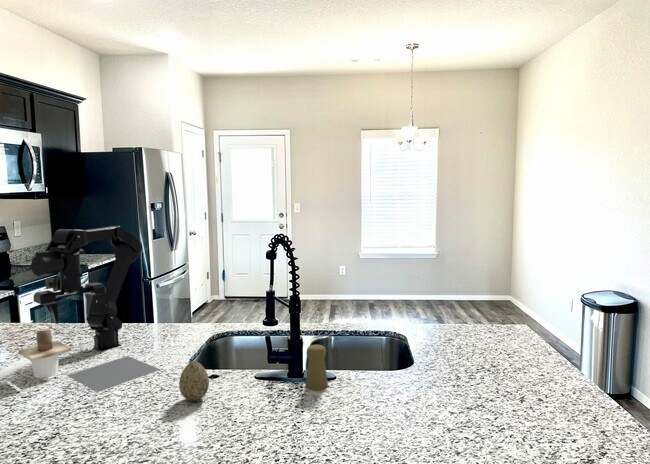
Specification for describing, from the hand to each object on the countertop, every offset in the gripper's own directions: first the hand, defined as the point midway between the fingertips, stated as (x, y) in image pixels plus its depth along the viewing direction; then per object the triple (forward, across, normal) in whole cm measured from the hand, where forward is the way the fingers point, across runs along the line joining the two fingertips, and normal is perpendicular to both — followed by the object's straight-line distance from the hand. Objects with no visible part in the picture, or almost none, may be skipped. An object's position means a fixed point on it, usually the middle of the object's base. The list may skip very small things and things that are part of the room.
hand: (72, 320), depth 135 cm
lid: (+6, +10, +5) cm, 13 cm away
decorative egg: (+13, -6, +52) cm, 54 cm away
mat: (+13, -2, +20) cm, 24 cm away
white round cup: (+13, +10, +5) cm, 17 cm away
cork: (+13, -30, +72) cm, 79 cm away
